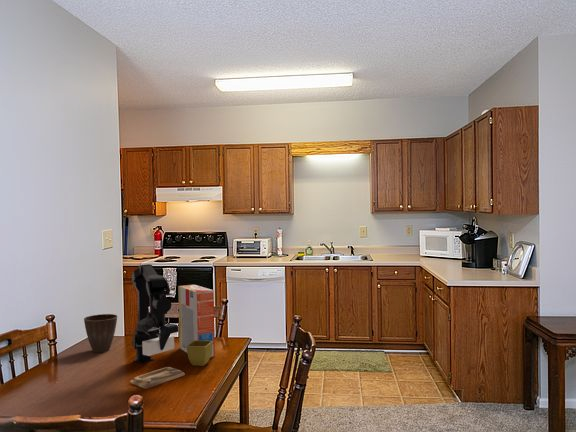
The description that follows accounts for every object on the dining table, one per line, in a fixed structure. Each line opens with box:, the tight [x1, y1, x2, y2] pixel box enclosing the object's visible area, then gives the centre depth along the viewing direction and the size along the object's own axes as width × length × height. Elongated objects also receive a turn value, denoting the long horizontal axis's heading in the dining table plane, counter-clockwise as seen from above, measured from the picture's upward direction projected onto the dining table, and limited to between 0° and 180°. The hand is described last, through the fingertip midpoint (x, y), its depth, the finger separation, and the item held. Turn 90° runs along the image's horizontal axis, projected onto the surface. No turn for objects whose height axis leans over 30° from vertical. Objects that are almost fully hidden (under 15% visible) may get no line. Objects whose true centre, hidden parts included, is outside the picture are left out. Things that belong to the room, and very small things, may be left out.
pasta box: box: [177, 284, 216, 359], centre depth 219 cm, size 23×8×30 cm, turn 33°
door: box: [142, 335, 175, 357], centre depth 184 cm, size 4×12×5 cm, turn 142°
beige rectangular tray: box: [129, 366, 186, 389], centre depth 183 cm, size 10×18×3 cm, turn 142°
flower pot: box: [186, 340, 213, 367], centre depth 201 cm, size 9×9×9 cm
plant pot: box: [83, 313, 118, 353], centre depth 225 cm, size 15×15×16 cm
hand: (158, 349), depth 184 cm, fingers closed on door, 4 cm apart
